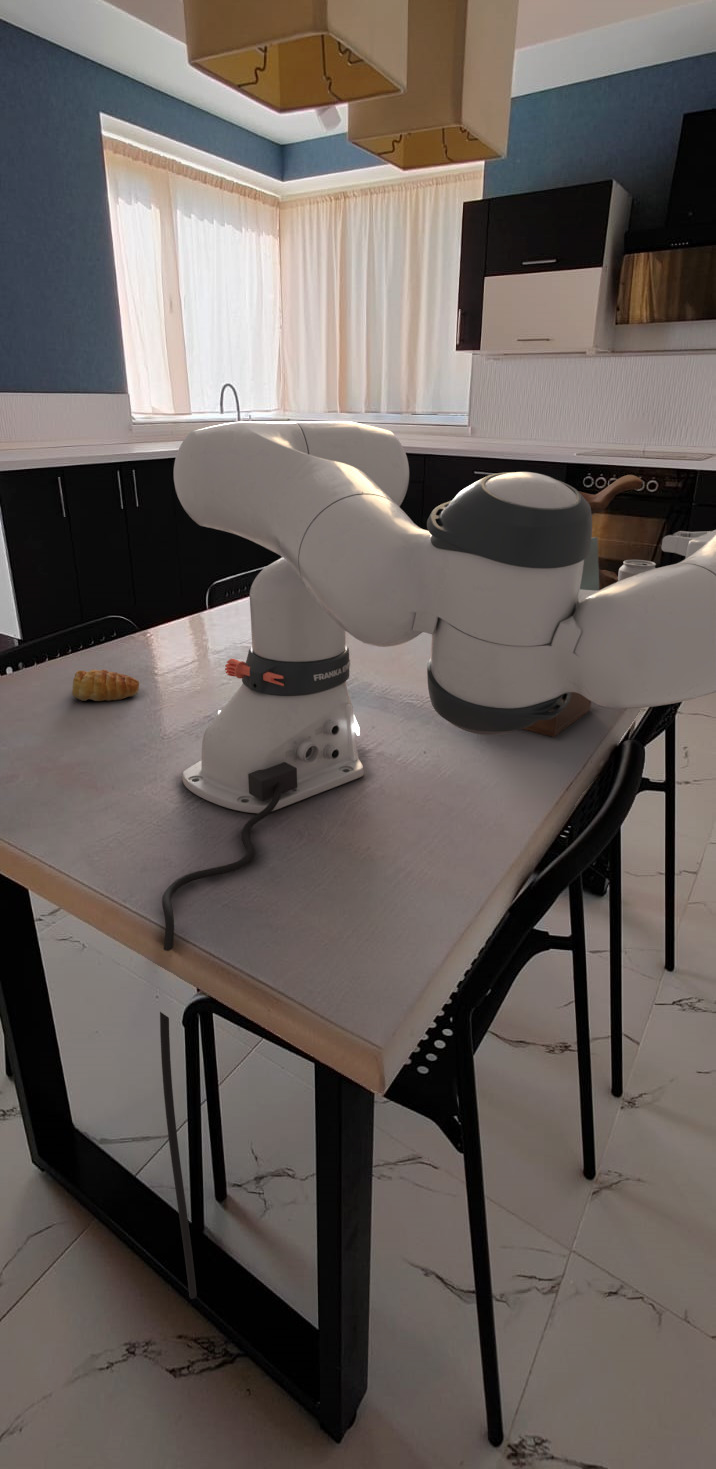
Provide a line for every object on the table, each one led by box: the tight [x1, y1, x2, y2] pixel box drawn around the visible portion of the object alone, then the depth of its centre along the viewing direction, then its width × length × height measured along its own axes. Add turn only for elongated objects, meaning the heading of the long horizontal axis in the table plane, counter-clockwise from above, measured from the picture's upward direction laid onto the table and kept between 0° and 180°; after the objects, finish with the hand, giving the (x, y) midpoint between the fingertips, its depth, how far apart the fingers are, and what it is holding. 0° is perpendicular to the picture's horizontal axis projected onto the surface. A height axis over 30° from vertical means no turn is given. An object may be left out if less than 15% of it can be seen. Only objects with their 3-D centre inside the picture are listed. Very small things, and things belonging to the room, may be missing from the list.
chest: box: [523, 692, 592, 738], centre depth 110 cm, size 15×13×9 cm
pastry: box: [71, 669, 140, 702], centre depth 115 cm, size 9×7×4 cm
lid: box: [580, 536, 600, 591], centre depth 102 cm, size 16×13×1 cm
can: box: [617, 559, 657, 582], centre depth 157 cm, size 8×8×12 cm
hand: (668, 540), depth 92 cm, fingers closed
